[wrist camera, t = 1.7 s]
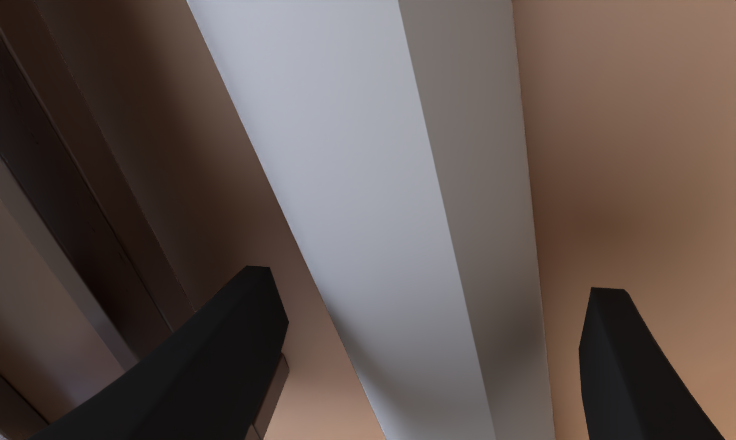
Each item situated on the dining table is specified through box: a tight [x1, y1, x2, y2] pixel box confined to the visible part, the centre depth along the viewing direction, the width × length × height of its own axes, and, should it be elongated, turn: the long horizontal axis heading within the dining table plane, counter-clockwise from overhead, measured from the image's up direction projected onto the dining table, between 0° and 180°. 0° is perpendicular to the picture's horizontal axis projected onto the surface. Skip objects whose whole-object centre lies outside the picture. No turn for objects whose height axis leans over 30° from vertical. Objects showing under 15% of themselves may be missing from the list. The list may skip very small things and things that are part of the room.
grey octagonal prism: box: [186, 0, 555, 440], centre depth 12 cm, size 5×5×25 cm
